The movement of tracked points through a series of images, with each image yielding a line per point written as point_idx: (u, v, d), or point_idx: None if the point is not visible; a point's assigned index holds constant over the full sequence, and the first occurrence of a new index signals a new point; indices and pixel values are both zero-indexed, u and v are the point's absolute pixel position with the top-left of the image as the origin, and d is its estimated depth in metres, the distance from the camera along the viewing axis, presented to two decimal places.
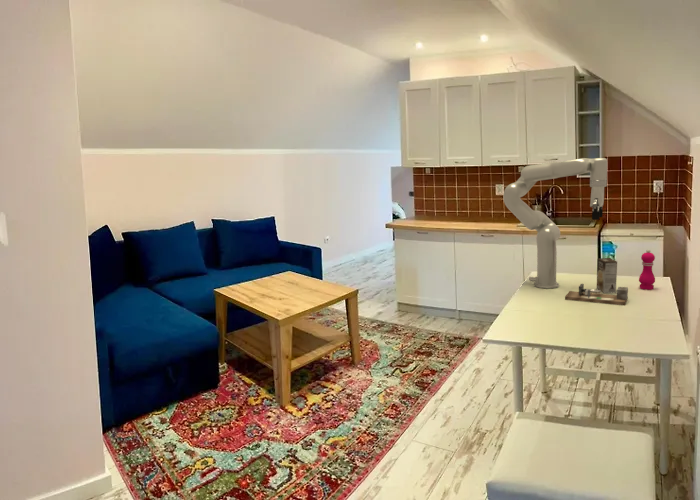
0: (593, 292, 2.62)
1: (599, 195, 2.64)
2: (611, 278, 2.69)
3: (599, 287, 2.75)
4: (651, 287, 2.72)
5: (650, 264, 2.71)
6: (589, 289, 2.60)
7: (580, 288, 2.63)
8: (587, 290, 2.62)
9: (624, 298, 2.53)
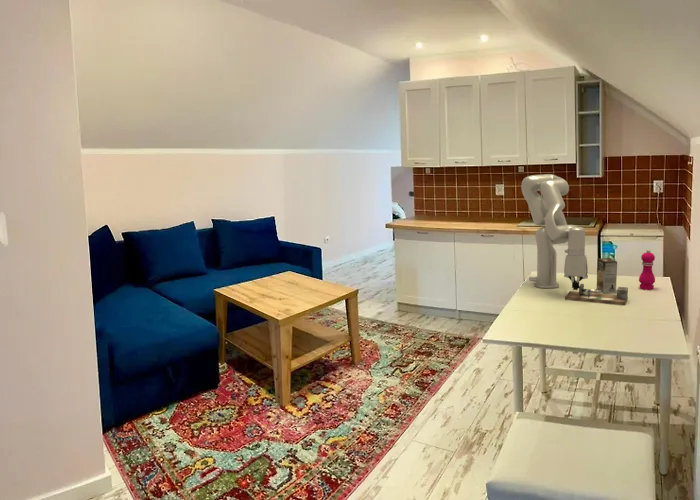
0: (593, 292, 2.62)
1: None
2: (611, 278, 2.69)
3: (599, 287, 2.75)
4: (651, 287, 2.72)
5: (650, 264, 2.71)
6: (589, 289, 2.60)
7: (580, 288, 2.63)
8: (587, 290, 2.62)
9: (624, 298, 2.53)
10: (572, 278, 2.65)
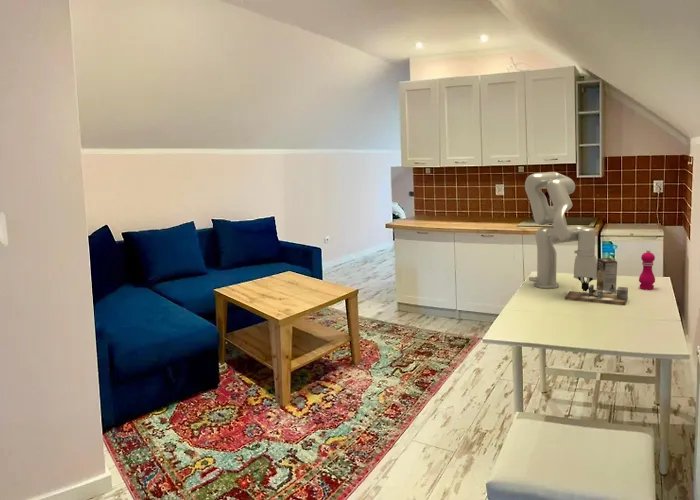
0: (603, 293, 2.60)
1: None
2: (611, 278, 2.69)
3: (599, 287, 2.75)
4: (651, 287, 2.72)
5: (650, 264, 2.71)
6: None
7: (590, 289, 2.60)
8: (597, 291, 2.59)
9: (624, 298, 2.53)
10: (582, 279, 2.63)
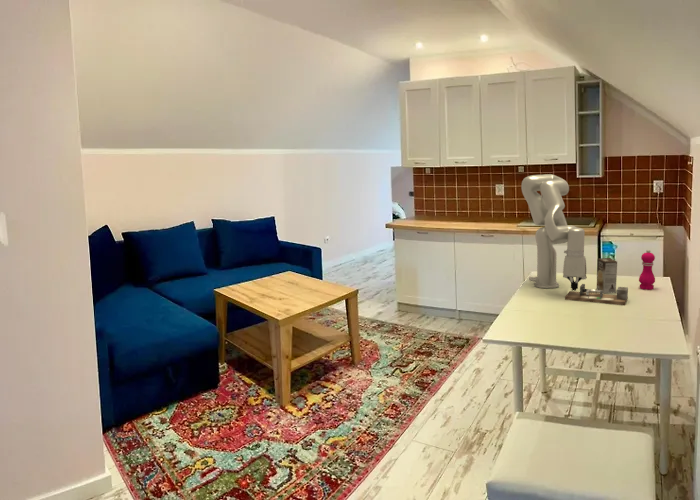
0: (594, 292, 2.62)
1: None
2: (611, 278, 2.69)
3: (599, 287, 2.75)
4: (651, 287, 2.72)
5: (650, 264, 2.71)
6: None
7: (581, 288, 2.62)
8: (588, 290, 2.61)
9: (624, 298, 2.53)
10: (571, 279, 2.66)
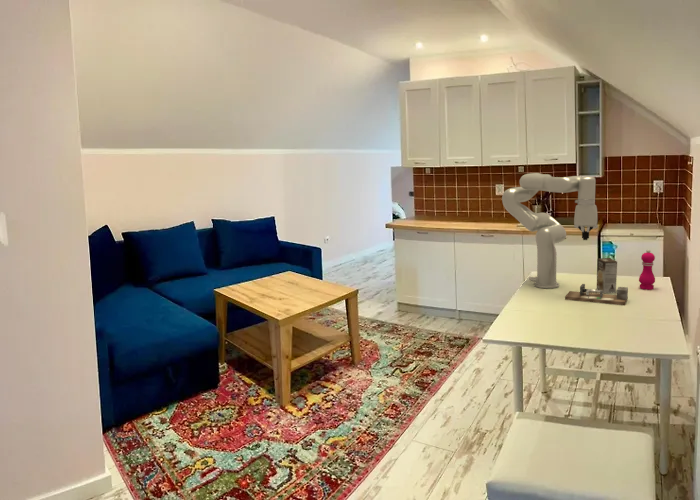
0: (594, 292, 2.62)
1: None
2: (611, 278, 2.69)
3: (599, 287, 2.75)
4: (651, 287, 2.72)
5: (650, 264, 2.71)
6: None
7: (581, 288, 2.62)
8: (588, 290, 2.61)
9: (624, 298, 2.53)
10: (582, 228, 2.66)
